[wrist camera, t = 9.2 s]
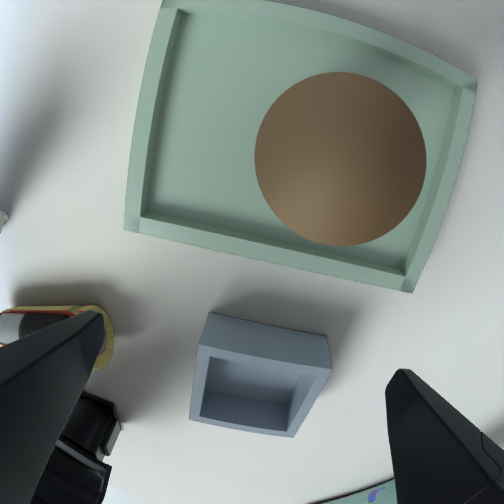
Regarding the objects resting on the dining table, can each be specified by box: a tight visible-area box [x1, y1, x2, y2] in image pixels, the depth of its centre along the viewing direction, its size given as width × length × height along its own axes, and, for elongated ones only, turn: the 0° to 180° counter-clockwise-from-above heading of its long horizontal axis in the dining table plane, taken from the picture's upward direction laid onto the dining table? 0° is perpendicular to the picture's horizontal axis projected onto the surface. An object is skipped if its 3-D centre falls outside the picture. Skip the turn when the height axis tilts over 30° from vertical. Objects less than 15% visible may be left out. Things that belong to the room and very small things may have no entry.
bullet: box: [0, 305, 114, 370], centre depth 21 cm, size 14×5×5 cm, turn 98°
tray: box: [124, 0, 478, 293], centre depth 15 cm, size 18×14×2 cm
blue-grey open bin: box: [189, 312, 333, 438], centre depth 22 cm, size 9×9×4 cm
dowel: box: [254, 72, 427, 246], centre depth 11 cm, size 4×4×10 cm
